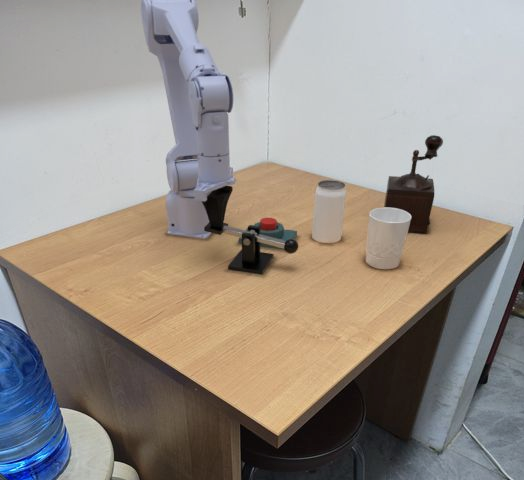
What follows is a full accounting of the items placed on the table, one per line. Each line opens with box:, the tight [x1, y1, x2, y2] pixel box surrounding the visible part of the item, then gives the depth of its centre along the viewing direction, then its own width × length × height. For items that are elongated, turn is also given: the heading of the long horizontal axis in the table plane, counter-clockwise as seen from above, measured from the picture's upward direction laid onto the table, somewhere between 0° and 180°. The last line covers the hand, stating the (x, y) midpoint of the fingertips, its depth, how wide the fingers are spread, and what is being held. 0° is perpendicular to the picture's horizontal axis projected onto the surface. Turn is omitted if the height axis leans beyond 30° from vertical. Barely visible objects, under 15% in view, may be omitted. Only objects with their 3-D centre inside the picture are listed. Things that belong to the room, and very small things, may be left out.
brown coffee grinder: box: [383, 134, 444, 234], centre depth 112 cm, size 16×11×18 cm
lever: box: [204, 222, 299, 255], centre depth 94 cm, size 18×4×3 cm, turn 73°
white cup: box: [365, 206, 412, 270], centre depth 96 cm, size 8×8×10 cm
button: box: [259, 217, 278, 231], centre depth 104 cm, size 4×4×2 cm
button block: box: [238, 221, 298, 251], centre depth 106 cm, size 11×8×3 cm
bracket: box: [227, 224, 275, 276], centre depth 95 cm, size 7×8×7 cm
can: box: [311, 179, 347, 244], centre depth 104 cm, size 6×6×12 cm
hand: (216, 225), depth 95 cm, fingers closed, pressing on lever
